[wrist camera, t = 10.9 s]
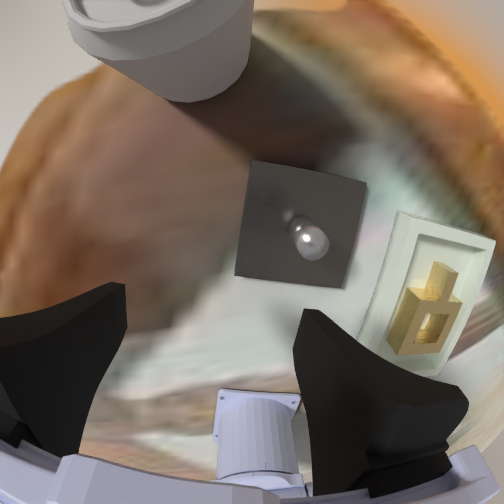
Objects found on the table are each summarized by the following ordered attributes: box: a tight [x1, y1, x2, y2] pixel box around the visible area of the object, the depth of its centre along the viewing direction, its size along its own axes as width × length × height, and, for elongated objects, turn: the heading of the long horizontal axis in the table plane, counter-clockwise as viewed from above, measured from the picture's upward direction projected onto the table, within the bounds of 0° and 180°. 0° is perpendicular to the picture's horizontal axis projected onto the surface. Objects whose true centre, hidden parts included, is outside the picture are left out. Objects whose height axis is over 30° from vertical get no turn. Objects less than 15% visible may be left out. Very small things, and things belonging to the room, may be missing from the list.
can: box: [63, 0, 254, 103], centre depth 10 cm, size 8×8×12 cm
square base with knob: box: [234, 160, 367, 288], centre depth 18 cm, size 8×8×4 cm
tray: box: [357, 211, 496, 377], centre depth 22 cm, size 15×11×2 cm
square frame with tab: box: [386, 261, 463, 355], centre depth 21 cm, size 8×5×2 cm
